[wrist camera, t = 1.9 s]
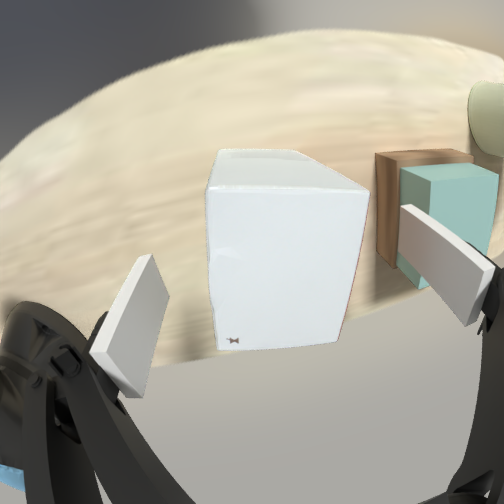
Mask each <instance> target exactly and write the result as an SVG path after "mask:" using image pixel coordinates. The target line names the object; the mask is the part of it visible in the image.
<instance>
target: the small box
mask: <svg viewBox="0 0 504 504" xmlns="http://www.w3.org/2000/svg"><path fill="white" fill-rule="evenodd" d="M370 194H371V193H370V192H369V191H368V190H367V189H365V188H364V187H362V186H361V185H359V184H357V183H356V182H354V181H352V180H350V179H348V178H347V177H345V176H343V175H341V174H340V173H338V172H336V171H334V170H332V169H330V168H329V167H327V166H325V165H323V164H321V163H319V162H317V161H315V160H314V159H312V158H310V157H308V156H306V155H304V154H302V153H300V152H298V151H296V150H283V149H219V150H218V152H217V156H216V159H215V161H214V164H213V168H212V171H211V174H210V177H209V179H208V183H207V187H206V190H205V216H206V240H207V261H208V281H209V293H210V304H211V308H212V314H213V322H214V331H215V339H216V346H217V350H219V351H244V350H265V349H279V348H290V347H300V346H309V345H318V344H325V343H333V342H337V341H338V339H339V335H340V332H341V328H342V325H343V321H344V317H345V314H346V310H347V307H348V303H349V299H350V295H351V291H352V286H353V282H354V278H355V274H356V269H357V265H358V261H359V256H360V250H361V246H362V241H363V235H364V229H365V224H366V218H367V213H368V206H369V199H370Z"/></svg>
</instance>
